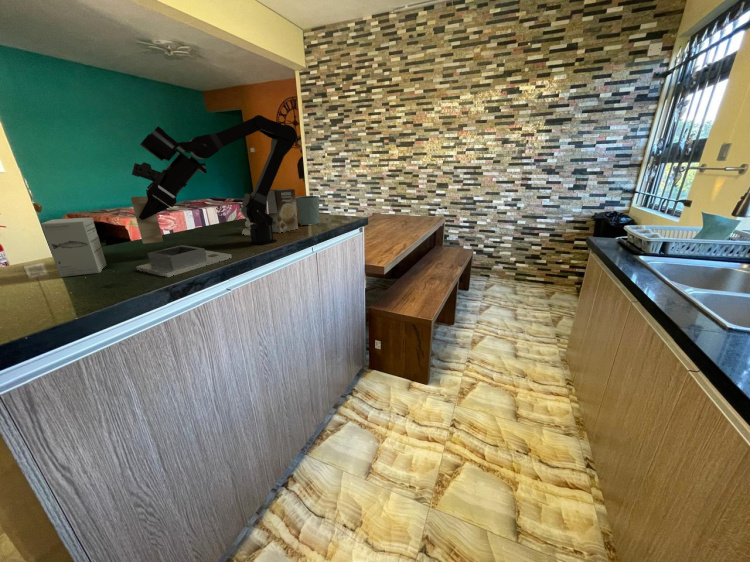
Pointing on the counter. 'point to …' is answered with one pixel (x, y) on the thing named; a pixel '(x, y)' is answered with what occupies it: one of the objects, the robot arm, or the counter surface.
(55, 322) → the counter surface
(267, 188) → the robot arm
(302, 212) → the grey tapered cup
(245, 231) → the hook
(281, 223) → the coffee box
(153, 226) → the square peg
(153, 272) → the socket plate
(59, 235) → the supplement box
